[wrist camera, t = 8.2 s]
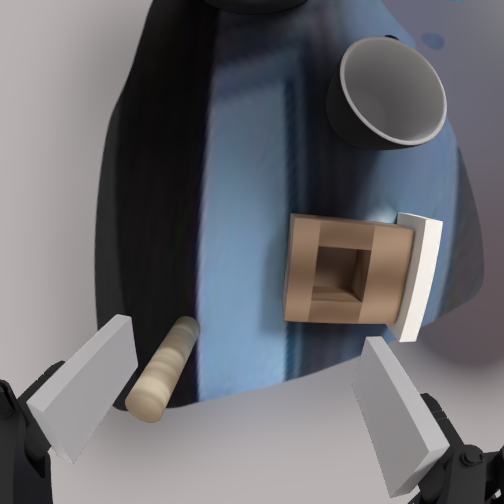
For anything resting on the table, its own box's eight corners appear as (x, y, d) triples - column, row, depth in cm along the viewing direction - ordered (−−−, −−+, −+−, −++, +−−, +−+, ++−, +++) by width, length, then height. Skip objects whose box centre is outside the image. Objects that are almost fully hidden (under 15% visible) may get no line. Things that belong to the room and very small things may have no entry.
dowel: (174, 314, 31) (121, 391, 17) (200, 317, 31) (158, 400, 17) (176, 336, 31) (129, 417, 18) (200, 340, 31) (163, 426, 18)
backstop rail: (397, 212, 27) (426, 219, 21) (413, 214, 27) (442, 221, 21) (379, 316, 29) (399, 342, 24) (393, 316, 29) (415, 341, 24)
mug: (386, 170, 26) (439, 165, 16) (306, 140, 26) (327, 116, 16) (404, 76, 23) (450, 43, 13) (331, 46, 23) (355, -5, 13)
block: (290, 212, 27) (295, 217, 23) (394, 223, 27) (414, 230, 23) (282, 301, 30) (284, 320, 25) (380, 306, 29) (395, 323, 25)
